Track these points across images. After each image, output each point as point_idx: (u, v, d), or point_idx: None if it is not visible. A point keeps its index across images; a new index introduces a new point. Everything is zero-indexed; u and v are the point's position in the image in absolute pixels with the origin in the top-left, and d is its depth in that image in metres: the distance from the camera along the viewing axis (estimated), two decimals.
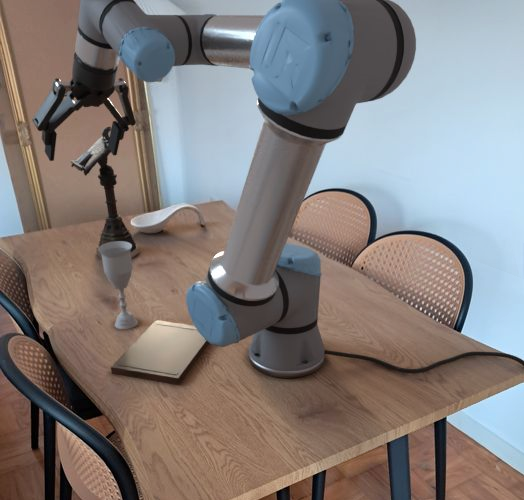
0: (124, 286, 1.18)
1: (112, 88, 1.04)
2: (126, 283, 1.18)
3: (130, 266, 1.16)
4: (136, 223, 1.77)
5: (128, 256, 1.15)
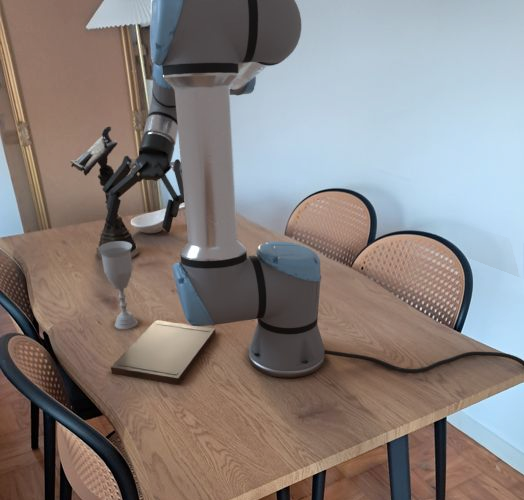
0: (124, 286, 1.18)
1: (166, 160, 1.24)
2: (126, 283, 1.18)
3: (130, 266, 1.16)
4: (136, 223, 1.77)
5: (128, 256, 1.15)
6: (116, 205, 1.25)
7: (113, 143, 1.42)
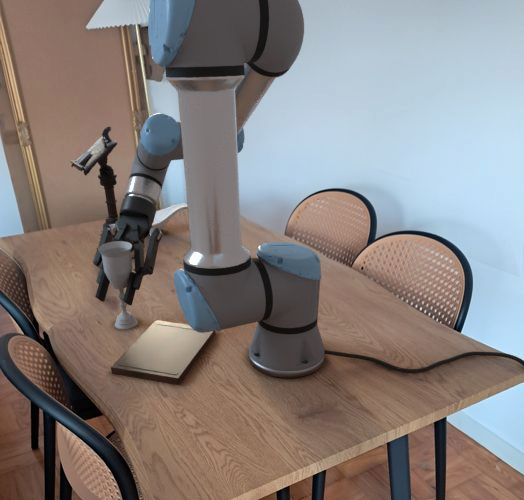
0: (124, 286, 1.18)
1: (147, 223, 1.19)
2: (126, 283, 1.18)
3: (130, 266, 1.16)
4: None
5: (128, 256, 1.15)
6: (107, 279, 1.19)
7: (113, 143, 1.42)
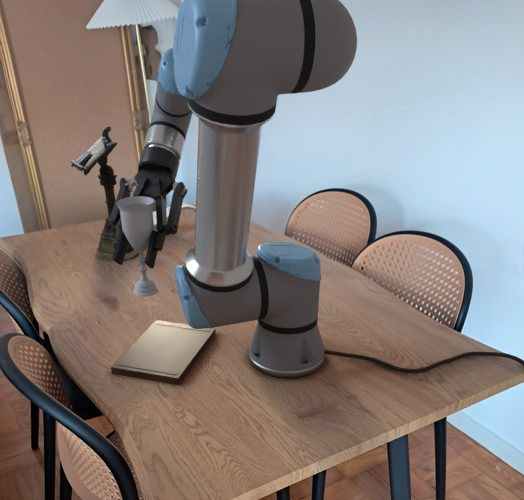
0: (145, 247, 1.05)
1: (169, 177, 1.06)
2: (147, 243, 1.05)
3: (152, 224, 1.03)
4: None
5: (150, 212, 1.02)
6: (125, 240, 1.06)
7: (113, 143, 1.42)
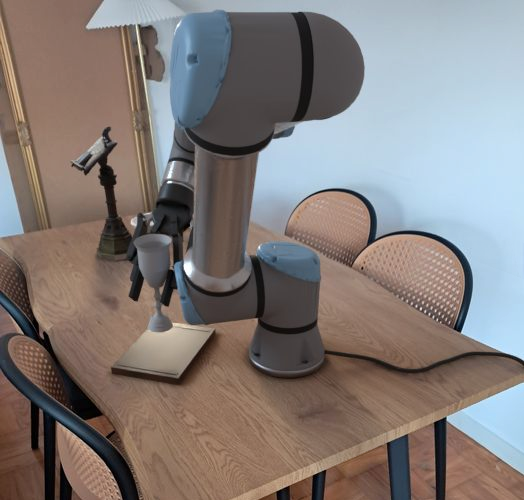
0: (161, 285, 1.05)
1: (187, 215, 1.06)
2: (163, 281, 1.05)
3: (168, 263, 1.03)
4: (136, 223, 1.77)
5: (167, 251, 1.01)
6: (141, 276, 1.06)
7: (113, 143, 1.42)
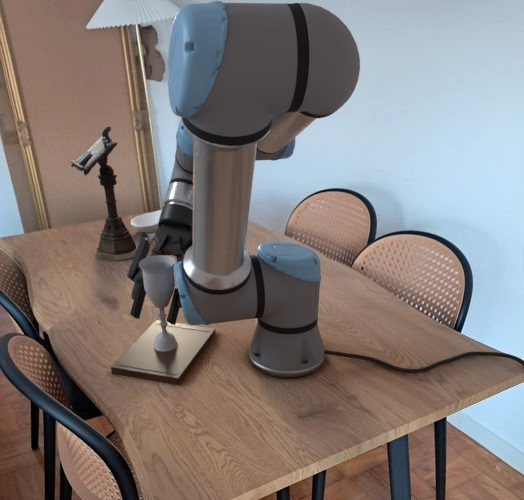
0: (165, 305, 1.07)
1: (189, 235, 1.08)
2: (168, 301, 1.07)
3: (173, 283, 1.05)
4: (136, 223, 1.77)
5: (171, 272, 1.04)
6: (142, 294, 1.08)
7: (113, 143, 1.42)
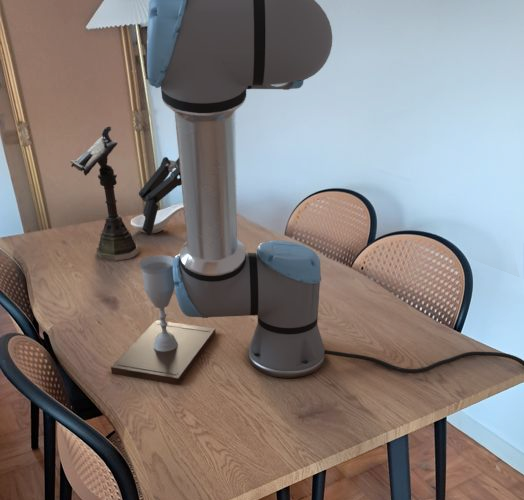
0: (165, 305, 1.07)
1: None
2: (168, 301, 1.07)
3: (173, 283, 1.05)
4: (136, 223, 1.77)
5: (171, 272, 1.04)
6: (154, 211, 1.13)
7: (113, 143, 1.42)
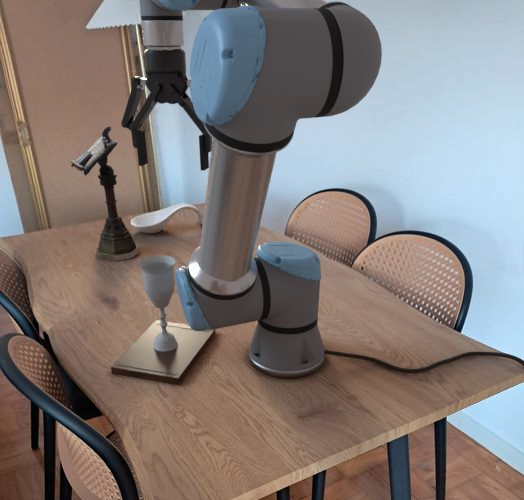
0: (165, 305, 1.07)
1: (181, 81, 1.03)
2: (168, 301, 1.07)
3: (173, 283, 1.05)
4: (136, 223, 1.77)
5: (171, 272, 1.04)
6: (142, 140, 1.12)
7: (113, 143, 1.42)
